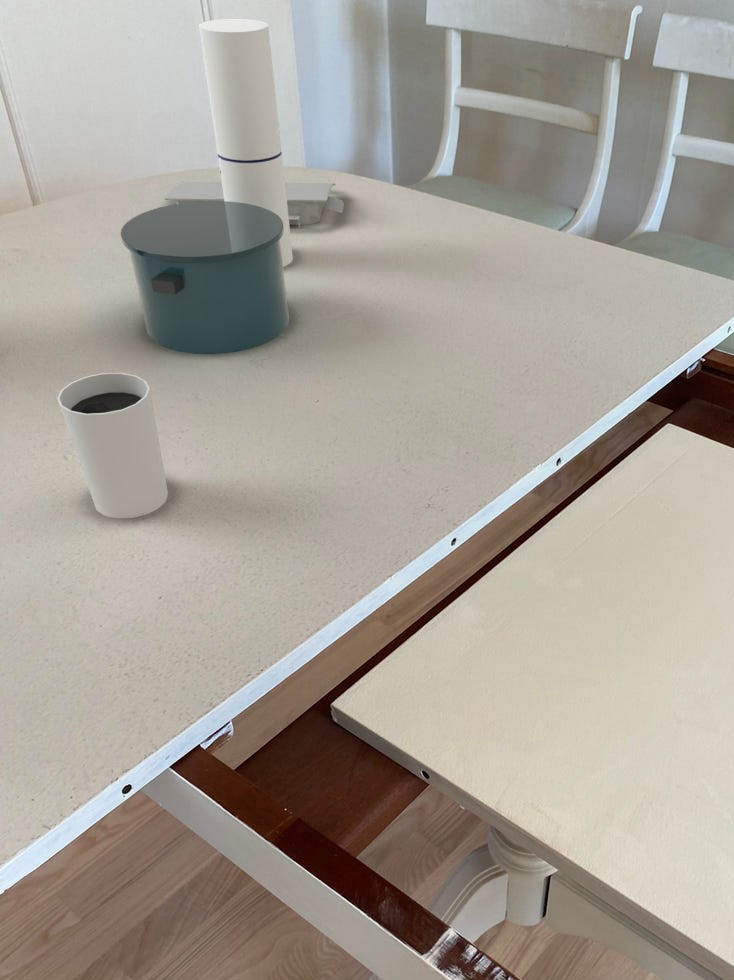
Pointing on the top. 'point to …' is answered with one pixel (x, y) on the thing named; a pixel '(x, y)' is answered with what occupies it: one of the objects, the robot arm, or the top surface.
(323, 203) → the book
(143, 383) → the white cup
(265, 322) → the pot
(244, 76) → the cylindrical container
